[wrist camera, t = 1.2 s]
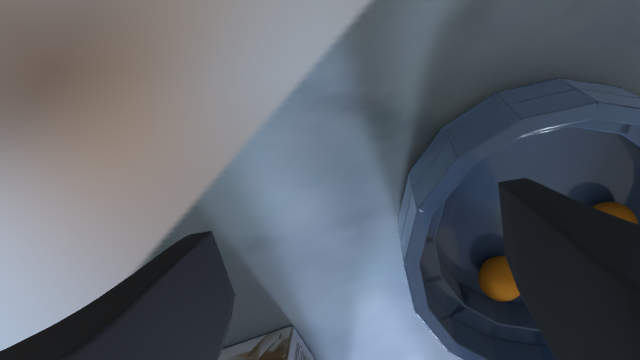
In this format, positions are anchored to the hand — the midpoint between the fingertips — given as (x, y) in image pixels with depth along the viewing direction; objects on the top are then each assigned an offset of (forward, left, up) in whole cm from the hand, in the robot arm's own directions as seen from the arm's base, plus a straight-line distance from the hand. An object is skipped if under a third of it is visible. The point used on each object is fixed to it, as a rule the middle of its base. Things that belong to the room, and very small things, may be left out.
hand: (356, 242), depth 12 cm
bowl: (-9, -1, -10) cm, 13 cm away
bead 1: (-9, +2, -8) cm, 12 cm away
